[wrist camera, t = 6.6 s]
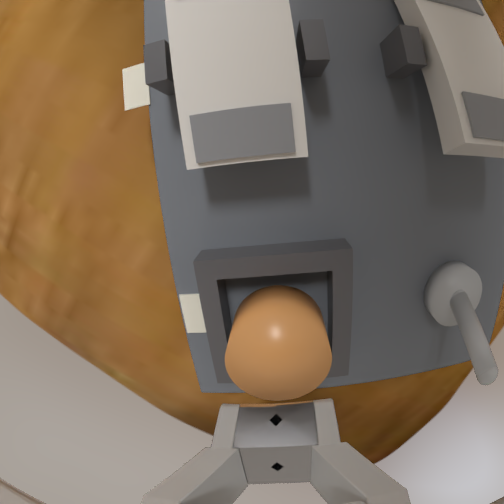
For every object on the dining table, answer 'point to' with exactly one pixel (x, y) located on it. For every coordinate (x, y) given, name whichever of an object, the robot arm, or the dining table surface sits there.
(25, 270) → the dining table surface
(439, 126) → the rocker
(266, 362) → the button
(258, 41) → the rocker
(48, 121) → the dining table surface
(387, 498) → the robot arm
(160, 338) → the dining table surface
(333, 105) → the panel
